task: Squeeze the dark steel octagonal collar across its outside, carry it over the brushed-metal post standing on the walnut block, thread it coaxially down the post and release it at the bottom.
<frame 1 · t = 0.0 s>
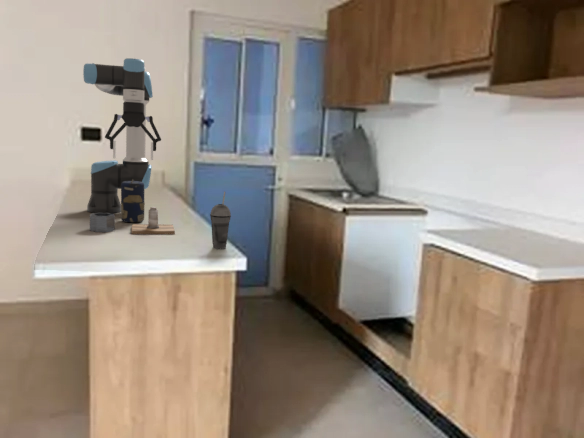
hand: (133, 159, 207), 28 cm above the table, fingers open, 13 cm apart
ring: (102, 229, 211), on the table
post block: (153, 230, 215), on the table
canister: (132, 221, 232), on the table
beverage cup: (219, 248, 192), on the table
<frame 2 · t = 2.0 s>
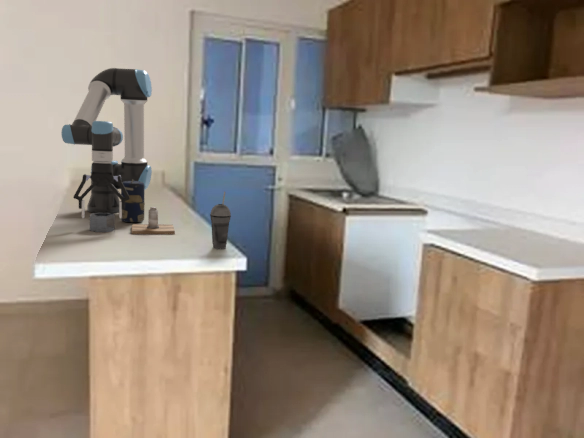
hand: (102, 217, 210), 5 cm above the table, fingers open, 13 cm apart
nothing on the table moved.
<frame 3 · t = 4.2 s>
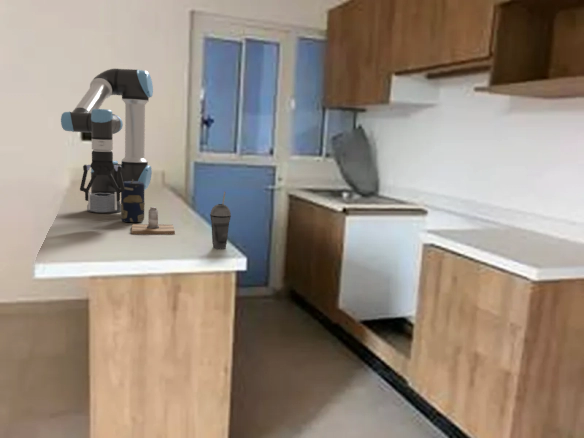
hand: (102, 209, 211), 8 cm above the table, fingers closed on ring, 9 cm apart
ring: (102, 210, 211), point 8 cm above the table, touching gripper
everything else where it was.
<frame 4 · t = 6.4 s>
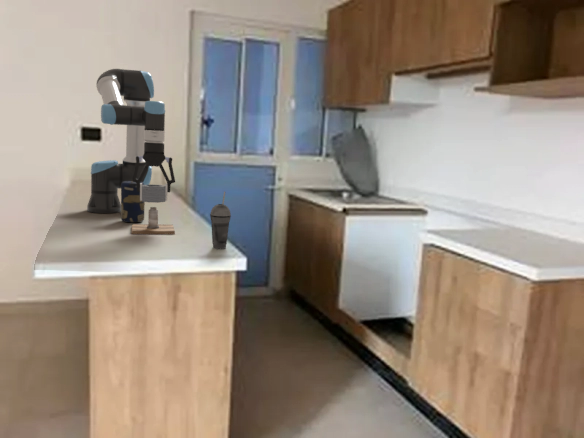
hand: (153, 200, 213), 12 cm above the table, fingers closed on ring, 9 cm apart
ring: (153, 201, 213), point 12 cm above the table, touching gripper
everything else where it was.
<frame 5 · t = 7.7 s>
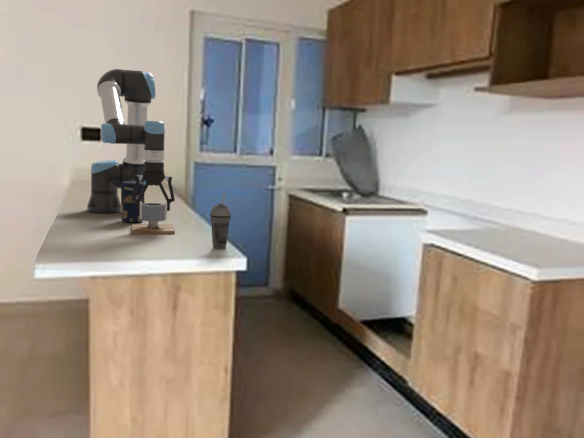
hand: (153, 218, 215), 5 cm above the table, fingers closed on ring, 9 cm apart
ring: (153, 219, 215), point 4 cm above the table, touching gripper
everything else where it was.
when the fingers open (2 cm above the table, at t = 8.7 s): ring stays where it is, resting on post block.
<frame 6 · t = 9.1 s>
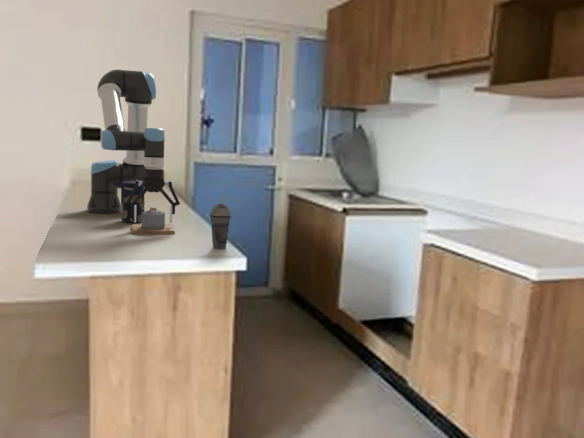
hand: (153, 222, 215), 3 cm above the table, fingers open, 13 cm apart
ring: (153, 227, 215), point 1 cm above the table, touching post block
everything else where it was.
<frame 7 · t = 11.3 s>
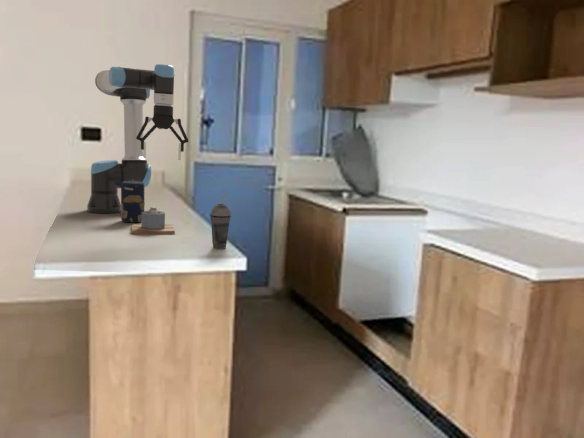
hand: (162, 159, 220), 28 cm above the table, fingers open, 13 cm apart
nothing on the table moved.
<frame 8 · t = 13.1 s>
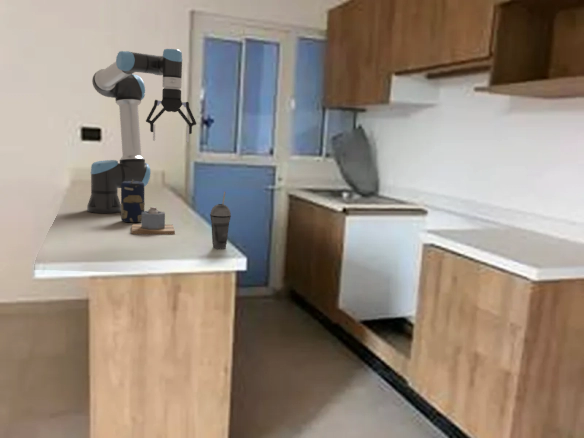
hand: (170, 141, 226), 35 cm above the table, fingers open, 13 cm apart
nothing on the table moved.
at the end: ring 0.0 cm off-centre on the post block, point 1.2 cm above the post block's base; ring tilted 0°; the gripper is holding nothing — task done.
